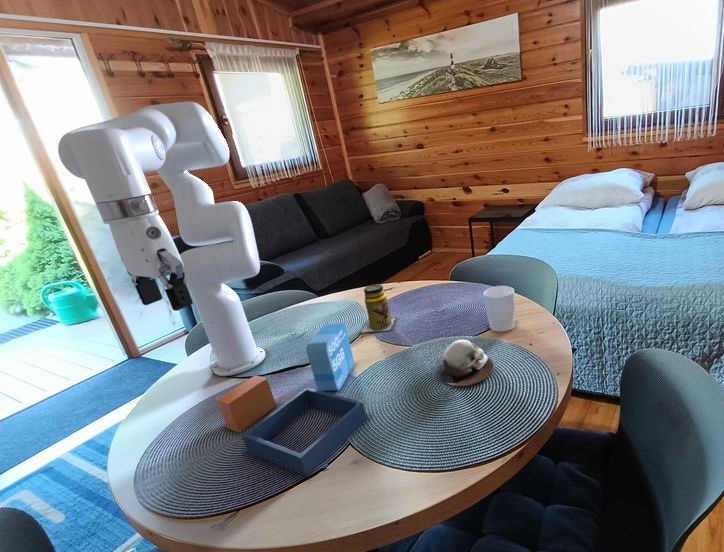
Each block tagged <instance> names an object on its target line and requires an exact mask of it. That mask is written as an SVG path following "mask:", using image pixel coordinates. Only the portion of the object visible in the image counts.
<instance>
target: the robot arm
mask: <svg viewBox="0 0 724 552" xmlns="http://www.w3.org/2000/svg"><path fill="white" fill-rule="evenodd" d="M57 151H58V152H57V153H58V156H59V160H60V161H61V164H62V165H63V167H64V168H65V169H66V170H67V171H68V173H70V174H71V175H73V176H74V177H76V178H79V179H82V180H84V181H85V183H86V186H87V188H88V190H89V192H90V195H91V197H92V199H93V202H94V203H95V206H96V209H97V210H98V212H99V215H100V217H101V220H102V222H103V223H104V225H109V229H110V232H111V236H112V238H113V240H114V244H115V247H116V249H117V252H118V255H119V256H120V259H121V260H120V261H121V262H122V265H124V267H125V269H126V272H127V274H128V275H129V276H130V279H131V282H132V284H133V285H134V287H135V289H136V292H137V294H138V297H139V299H140V301H141V303H142V305H144V306H149V305H151V304H154V303H156V302H159V301H162V300H163V294H162V293H161V290H160V287H159V285H158V283H157V280H156V279H159V281H160V282H161V284H163V285H164V286H165V289H164V292H165V294H166V297H167V299H168V302H169V304H170V306H171V309H172V311H175V312H178V311H180V310H182V309H185V308H187V307H189V306H192V305H193V304H194V305H195V308H196V310H197V313H198V316H199V318H200V322H201V323H202V326H203V328H204V332H205V334H206V337H207V339H208V341H209V342H208V343H209V345H210V347H211V349H212V350H211V354H212V355H214V357H215V360H216V361H215V362H214V364H213V365H212V371H213V373H214V374H215V375H217V376H219V377H220V376H221V377H229V376H234V375H238V374H241V373H245V372H247V371H249V370H251V369H253V368H256V367H257V366H258V365H260V364H261V363H262V362H263V361H264V359H265V358H266V351H265V350H264V348H261V347H259V346H257V345H256V342H255V339H254V336H253V333H252V331H251V328H250V325H249V321H248V319H247V316H246V313H245V310H244V308H243V305H242V302H241V299H240V297H239V295H238V294H237V292H236V291H234V290H233V289H232V288H231V287H229V286H228V285H227V284H228V283H233V282H238V281H242V280H246V279H250V278H253V277H256V276H257V275H258V274H259V273H260V270H261V262H260V256H259V251H258V247H257V242H256V237H255V236H256V235H255V231H254V227H253V222H252V218H251V216H250V213H249V211H248V209H247V208H246V207H245V205H244V204H243V203H242V202H239V201H233V200H232V201H224V202H223V201H222V202H216V203H215V197H214V193H213V190H212V189H211V187H210V186H208V184H207V183H205V182H204V181H203V180H201V179H200V178H198V177H197V176H194V175H193V174H190V173H189V172H188V171H195V170H202V169H209V168H218V167H221V166H224V165H226V164H227V163H228V162H229V160H230V149H229V146H228V143H227V141H226V139H225V138H224V136H223V134H222V133H221V130H220V129H219V128H218V126H217V124H216V123H215V120H214V119H213V118H212V116H211V115H210V114H209V112H208V111H207V110H206V109H205V107H203V106H202V105H201V104H199V103H198V102H196V101H195V102H194V101H180V102H179V101H177V102H171V103H158V104H151V105H147V106H143V107H141V108H139V109H137V110H136V111H134V112H131V113H130V114H127V115H122V116H118V117H114V118H110V119H108V120H105V121H101V122H97V123H93V124H88V125H84V126H82V127H78V128H75V129H73V130H71V131H68V132H67V133H64V134H63V135H62V136H61V138H60V139H59V142H58V145H57ZM155 171H156V173H157V174H158V176H159V177H160V178H161V180H162V181H163V183H164V184H165V185H166V186H167V188H168V190H170V193H171V194H172V197H173V201H174V207H175V208H174V209H175V215H176V221H177V226H178V227H177V228H178V231H179V236H180V238H181V239H182V241H183V242H184V243H185V244H186V245H188V246H192V247H194V248H190V249H188V250H185V251H183V252H181V253H179V250H178V248H177V246H176V243H175V242H174V239H173V237H172V234H171V233H170V231H169V229H168V227H167V226H166V224H165V222H164V220H163V218H162V217H161V216H160V214H159V213H160V212H159V209H158V207H157V205H156V201H155V199H154V196H153V194H152V192H151V189H150V186H149V184H148V181H147V179H146V175H145V173H150V172H151V173H152V172H155ZM167 276H169V277H167Z"/></svg>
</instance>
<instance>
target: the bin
mask: <svg viewBox="0 0 724 552" xmlns="http://www.w3.org/2000/svg"><path fill="white" fill-rule="evenodd" d="M311 407H314V408H318V409H320V410H325V411H328V412H332V413H334V414H339V415H342V417H341V418H339V419H338V420H337V421H336V422H335V423H333V425H331V427H329V428H328V429H327V430H326V431H325V432H324V433H322V434H321V435H320V436H319V437H318V438H317V439H316V440H315V441H313V442H312V443H311V444H310V445H309V446H308V447H307V448H305V450H303V451H302V452H301V453H300V452H298V451H294V450H292V449H290V448H287V447H284V446H282V445H279V444H275V443H273V442H270V441H269V440H270V439H271V438H273V437H274V436H275V435H276V434H278V433H279V432H280V431H281V430H283V429H284V428H285V427H287V426H288V425H289V424H290V423H292V422H293V421H294V420H295V419H296V418H298V417H299V416H301V414H303V413H304V412H305V411H307V410H308V409H309V408H311ZM367 420H368V417H367V413H366V409H365V405H364V402H363V401H359V400H355V399H352V398H348V397H344V396H341V395H338V394H334V393H329V392H327V391H319V390H318V389H315V388H311V387H305V388H304V389H302V390H301V391H300V392H298V393H297V394H296V395H294V396H293V397H292V398H291V399H289V400H287V401H286V402H284V404H282V405H280V407H278V408H277V409H275V410H274V411H273V412H271V413H270V414H268V416H266V417H265V418H263V419H262V420H260V421H259V422H257V424H255V425H254V426H252V427H251V428H249V429H248V430H247V431H245V433H243V434H242V435H241V439H242V441H243V444H244V446H245V449H246V451H247V453H248V454H251V455H252V456H255V457H258V458H260V459H263V460H265V461H268V462H270V463H271V464H272V463H273V464H275V465H276V466H277V465H278V466H279V467H282V468H285V469H287V470H290V471H292V472H294V473H297V474H299V475H301V476H304V477H308V476H310V474H311V473H312V472H313V471H314V470H315V469H317V468H318V467H319V466H320V465H321V464H322V463H323V462H324V461H325V460H326V459H327V458H328V457H329V456H330V455H331V454H333V452H334V451H335V450H336V449H337V448H338V447H339V446H340V445H342V443H344V442H345V441H346V440H347V439H348V438H349V437H350V436H351V435H352V434H353V433H354V432H355V431H356V430H357V429H358V428H359V427H360V426H362V424H364V423H365V422H366V421H367Z"/></svg>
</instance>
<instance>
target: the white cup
mask: <svg viewBox="0 0 724 552" xmlns="http://www.w3.org/2000/svg"><path fill="white" fill-rule="evenodd" d="M483 297H484V303H485V310H486V315H487V320H488V324H489V325H488V326H489V329H490V330H492V331H494V332H499V333H502V332H508V331H511V330H512V329H514V328H515V326H516V320H515V319H516V300H515V298H516V297H515V288H513V287H512V286H509V285H495V286H490V287H489V288H486V289H485V290H484V291H483Z"/></svg>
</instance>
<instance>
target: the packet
mask: <svg viewBox="0 0 724 552" xmlns="http://www.w3.org/2000/svg"><path fill="white" fill-rule="evenodd" d="M268 380H269V379H268V378H267V377H266V378H265V377H263V376H259V375H253V376H251V377H250V378H248V379H247V380H245V381H244V382H242V383H241V384H239V385H237V386H236V387H234V388H233V389H231V390H229V391H228V392H226V393H225V394H223V395H221V396H220V397H218V398H217V399H215V401H216V404H217V406H218V409H219V411H220V413H221V416H222V419H223V421H224V423H225V426H226V428H227V429H228V430H231V431H233V432H236V433H239V434H240V433H242V432H243V431H245V430H246V429H247V428H248V427H249V426H252V425H253V424H254V423H255V422H256V421H258V420H260V419H261V418H262V417H263V416H264V415H266V414H267V413H269V412H270V411H272V410H273V409H275V407H277V403H276V401H275V398H274V394H273V392H272V389H271V386H270V383H269V381H268Z"/></svg>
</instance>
